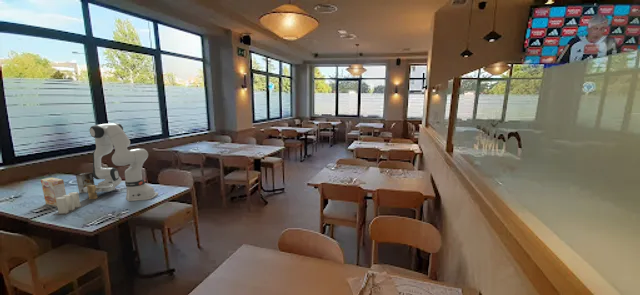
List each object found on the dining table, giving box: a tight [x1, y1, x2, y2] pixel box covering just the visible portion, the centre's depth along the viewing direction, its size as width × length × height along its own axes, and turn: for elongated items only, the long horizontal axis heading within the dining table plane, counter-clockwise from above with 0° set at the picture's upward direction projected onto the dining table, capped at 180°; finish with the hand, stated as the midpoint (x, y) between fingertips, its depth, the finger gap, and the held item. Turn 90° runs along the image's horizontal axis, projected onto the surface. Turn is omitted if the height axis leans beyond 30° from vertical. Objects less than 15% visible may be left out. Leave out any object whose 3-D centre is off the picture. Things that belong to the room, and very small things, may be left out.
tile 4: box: [56, 197, 69, 213], centre depth 185 cm, size 5×2×11 cm, turn 92°
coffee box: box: [75, 172, 96, 194], centre depth 227 cm, size 9×6×16 cm
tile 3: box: [63, 194, 75, 210], centre depth 190 cm, size 5×2×11 cm, turn 92°
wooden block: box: [87, 184, 99, 199], centre depth 210 cm, size 5×2×11 cm, turn 92°
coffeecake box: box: [40, 177, 67, 207], centre depth 201 cm, size 15×7×20 cm, turn 69°
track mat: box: [52, 196, 103, 216], centre depth 199 cm, size 10×34×1 cm, turn 2°
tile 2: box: [68, 191, 81, 207], centre depth 195 cm, size 5×2×11 cm, turn 92°
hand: (91, 191), depth 209 cm, fingers closed on wooden block, 5 cm apart
